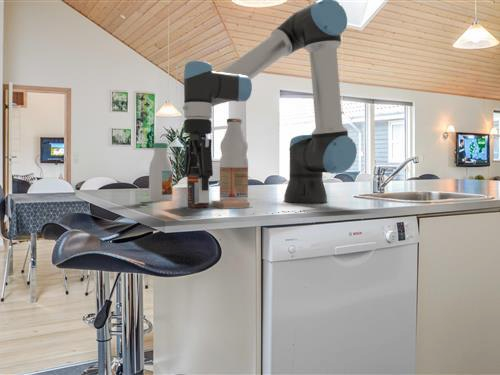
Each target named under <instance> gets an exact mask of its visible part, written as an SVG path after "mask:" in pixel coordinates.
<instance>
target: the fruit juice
mask: <svg viewBox="0 0 500 375" xmlns="http://www.w3.org/2000/svg"><path fill="white" fill-rule="evenodd" d="M242 122H243V121H242V119H241V118H227V119H226V125H227V127H226V130H225V133H224V136H223V138H222V140H221V141H220V147H219V148H220V153H221V157H220V158H219V201H222V200H240V201H246V202H249V201H248V200H249V159H248V156H247V153H248V147H249V145H248V141H247V140H246V137H245V135H244V132H243V129H242V126H241V125H242V124H243V123H242Z"/></svg>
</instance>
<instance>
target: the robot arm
mask: <svg viewBox="0 0 500 375" xmlns="http://www.w3.org/2000/svg"><path fill="white" fill-rule="evenodd" d="M347 26H348V16H347V13H346V10H345V9H344V7H343V5H341V4H340V2H339V1H337V0H316V1H314V2H313V3H311V4H309V5H307V6H305V7H304V8H301V9H300V10H298V11H296V12H294V13H293V14H292V15H290V16H289V17H288V18H287V19H286V20H285V21H284V22H282V23H281V24H280V25H279V26H277V27H276V28H275V29H273V30H271V32H270V36H269V37H267V38H266V39H265V40H263V41H262V42H261V43H259V44H258V45H256V46H255V47H253V48H252V49H251V50H249V51H248V52H246V53H245V54H243V55H242V56H241V57H239V58H238V59H236V60H235V61H234V62H232V63H230V64H229V65H228V66H226V68H224V69H222V70H221V71H219V72H218V71H215V70H213V67H212V64H211V63H210V62H207V61H204V60H193V61H192V60H190V61H188V62H187V63H186V64H185V65H184V72H183V90H184V94H183V96H184V99H183V102H184V103H183V106H182V110H184V111H183V112H184V113H183V114H184V115H183V117H184V118H185V119H184V121H183V132H184V133H185V134H187V135H189V140H185V142H184V145H185V151H184V152H185V154H184V166H183V167H184V171H183V175H185V176H186V178H188V175H190V173H191V167H199V173H200V175H199V176H198V179H199V181H198V203H209V204H210V179H211V177H213V175H214V172H213V157H212V156H213V155H212V139H209V138H207V135H209V134H212V120H210V119H212V117H213V114H212V113H213V112H212V111H213V110H212V108H213V107H214V106H217V105H220V104H224V103H228V102H237V103H239V102H247V101H249V98H251V95H252V91H253V90H252V89H253V88H252V87H253V84H252V79H254V78H255V77H257V76H258V75H259V74H261V73H262V72H263V71H264V70H266V69H267V68H269V67H270V66H271V65H272V64H274V63H275V62H277V61H279V59H280V58H281V59H282V57H283V56H284V57H288V56H290V55H291V54H293V53H294V52H296V51H299V50H301V49H304V50H306V52H308V53H309V62H310V63H309V64H310V74H311V84H312V88H311V89H312V98H313V111H314V123H315V128H314V130H313V131H312V132H311V133H310V134H301V135H297V136H294V137H292V138H291V139H290V141H289V149H288V151H289V180H288V183H287V187H286V188H285V189H286V190H285V193H284V198H283V199H284V202H287V203H295V204H296V203H297V204H298V203H299V204H304V203H305V204H320V203H327V202H328V195H327V190H326V188H325V185H324V182H323V181H324V180H323V173H325V174H327V173H330V174H341V173H344V172H346V171H348V170H350V169H351V167H352V165H354V163H355V161H356V158H357V154H358V152H357V150H358V149H357V144H356V143H355V141H353V140H354V139H353V138H351V137H349V130H348V129H347V128H346V127H345V126H344V125H343V116H342V104H341V103H342V102H341V101H342V100H341V90H340V79H339V78H340V75H339V63H338V48H339V47H340V46H341V45H342V39H341V38H342V36H341V35H342V34H343V33H344V32H345V29H346V28H347ZM186 190H187V191H186V197H187V198H186V200H187V201H188V187H187V186H186Z"/></svg>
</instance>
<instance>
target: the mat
mask: <svg viewBox="0 0 500 375" xmlns="http://www.w3.org/2000/svg"><path fill="white" fill-rule="evenodd" d="M178 207H179V208H182V209H183V208H184V209H187V210H190V211H207V210H209V211H210V210H214V211H215V210H224V209H223V208H219V207H214V206H212V204H209V206H208V207H206V208H189V207H188V204H187V205H178ZM251 208H253V209H254V207H253V206H249V208H248V209H251ZM230 209H232V210H233V209H234V210H235V209H237V208H226V209H225V210H230Z"/></svg>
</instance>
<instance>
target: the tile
mask: <svg viewBox="0 0 500 375" xmlns="http://www.w3.org/2000/svg"><path fill="white" fill-rule="evenodd" d="M211 205H212V206H214V207H219V208H223V209H222V210H227V209H226V208H236V209H250V208H249V207H250V201H240V200H222V201H220V200H211Z"/></svg>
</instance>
